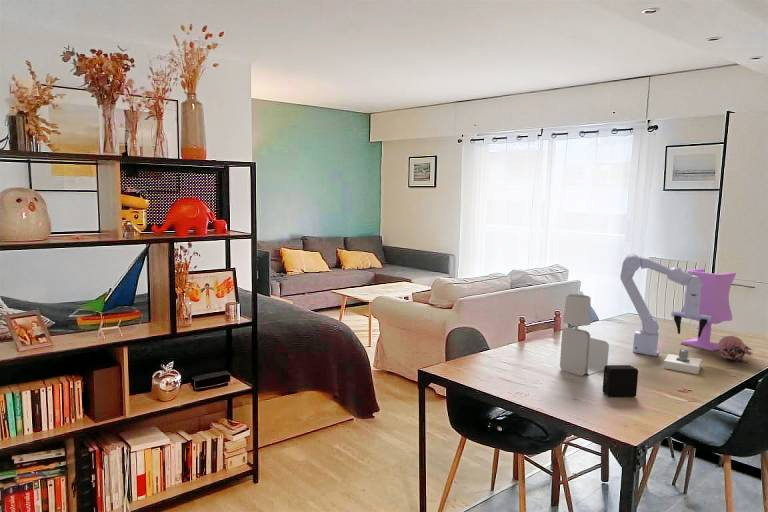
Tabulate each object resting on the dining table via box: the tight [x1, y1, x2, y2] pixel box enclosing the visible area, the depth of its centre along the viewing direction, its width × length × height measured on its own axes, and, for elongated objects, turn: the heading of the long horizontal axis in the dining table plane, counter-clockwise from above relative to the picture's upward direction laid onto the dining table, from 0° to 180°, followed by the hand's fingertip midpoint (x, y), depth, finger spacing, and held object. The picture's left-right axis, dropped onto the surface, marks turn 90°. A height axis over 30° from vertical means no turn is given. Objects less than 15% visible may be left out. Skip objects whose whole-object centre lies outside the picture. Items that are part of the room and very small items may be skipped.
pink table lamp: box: [680, 268, 737, 352], centre depth 251 cm, size 16×16×35 cm
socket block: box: [663, 353, 702, 375], centre depth 219 cm, size 12×12×3 cm
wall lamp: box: [559, 293, 610, 377], centre depth 211 cm, size 10×21×30 cm, turn 131°
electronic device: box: [602, 364, 639, 398], centre depth 186 cm, size 4×10×10 cm, turn 95°
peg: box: [678, 348, 689, 362], centre depth 219 cm, size 3×3×7 cm
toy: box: [717, 335, 754, 363], centre depth 228 cm, size 12×11×15 cm
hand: (689, 335), depth 232 cm, fingers open, 7 cm apart
